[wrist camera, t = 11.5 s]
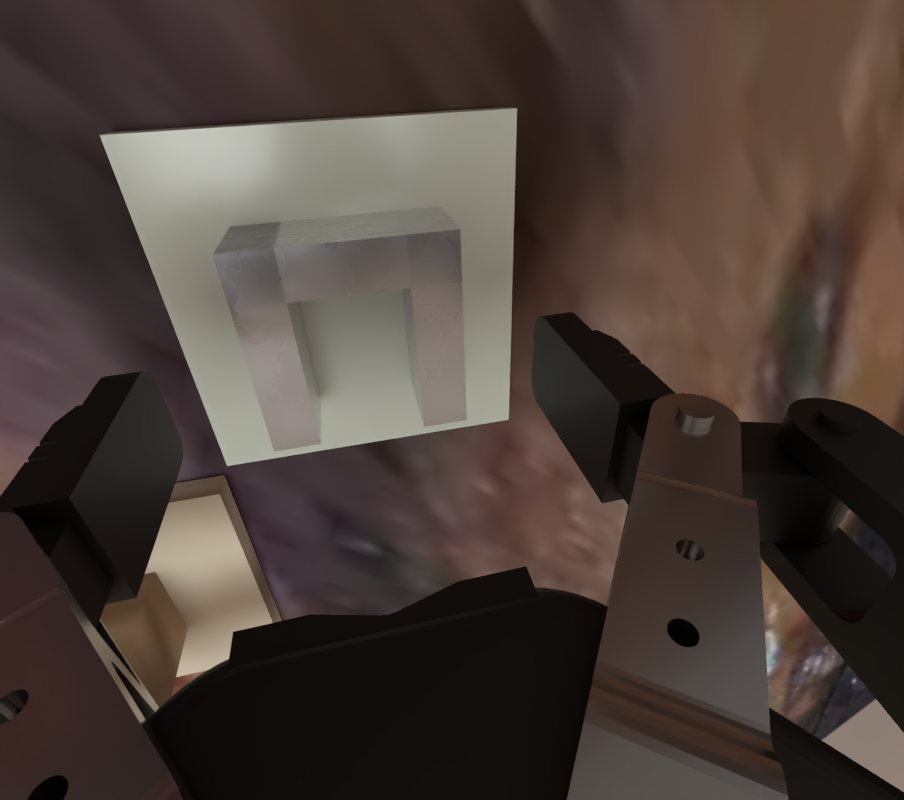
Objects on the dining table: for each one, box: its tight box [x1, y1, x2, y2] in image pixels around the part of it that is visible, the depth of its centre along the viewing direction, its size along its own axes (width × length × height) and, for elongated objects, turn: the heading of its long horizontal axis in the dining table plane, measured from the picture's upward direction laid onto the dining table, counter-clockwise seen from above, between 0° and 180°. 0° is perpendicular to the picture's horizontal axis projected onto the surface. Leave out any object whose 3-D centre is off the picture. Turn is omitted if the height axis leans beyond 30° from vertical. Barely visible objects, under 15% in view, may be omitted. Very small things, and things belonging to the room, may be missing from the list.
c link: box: [213, 206, 467, 452], centre depth 14 cm, size 6×6×2 cm
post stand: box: [100, 475, 282, 708], centre depth 16 cm, size 10×10×9 cm
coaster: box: [100, 107, 517, 466], centre depth 15 cm, size 10×10×1 cm
